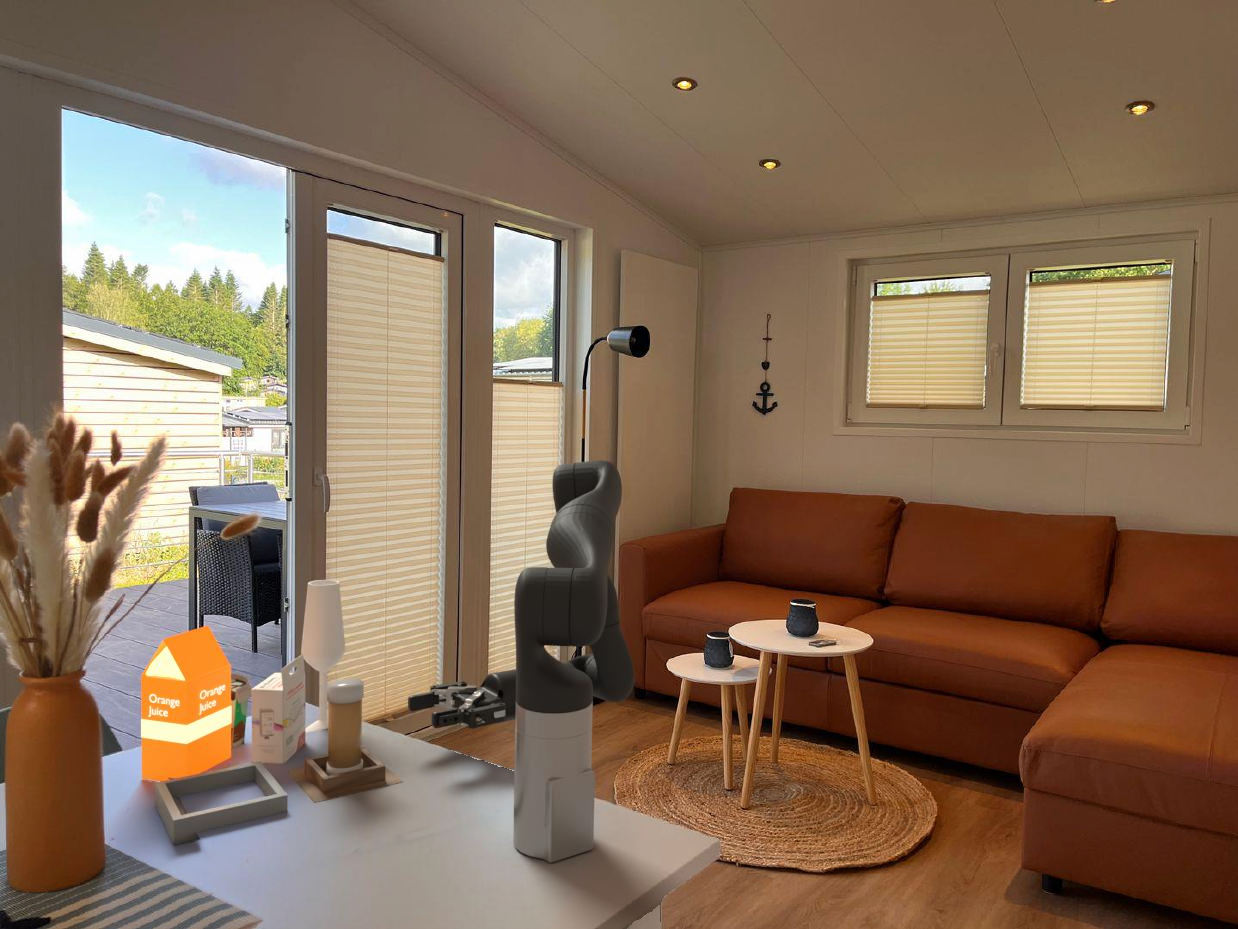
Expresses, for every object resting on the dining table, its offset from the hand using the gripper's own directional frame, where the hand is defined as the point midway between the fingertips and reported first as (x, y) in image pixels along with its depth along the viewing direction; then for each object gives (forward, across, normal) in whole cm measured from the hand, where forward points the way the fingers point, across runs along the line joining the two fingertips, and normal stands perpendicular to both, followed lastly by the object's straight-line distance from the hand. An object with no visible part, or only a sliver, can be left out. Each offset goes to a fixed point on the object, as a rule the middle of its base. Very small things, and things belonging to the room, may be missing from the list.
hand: (420, 712), depth 130 cm
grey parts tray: (+27, 0, +8) cm, 28 cm away
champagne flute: (+7, -22, +8) cm, 25 cm away
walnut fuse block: (+11, 0, +8) cm, 14 cm away
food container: (+21, -25, +8) cm, 34 cm away
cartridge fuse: (+11, 0, +7) cm, 13 cm away
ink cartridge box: (+16, -14, +8) cm, 23 cm away
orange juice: (+28, -16, +8) cm, 33 cm away
